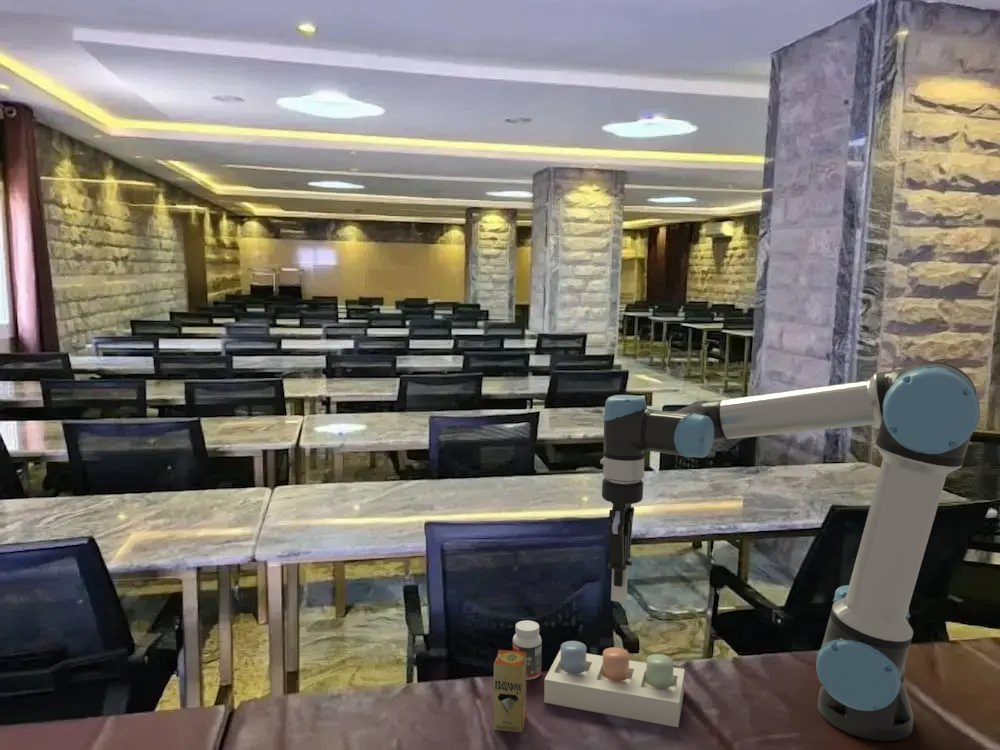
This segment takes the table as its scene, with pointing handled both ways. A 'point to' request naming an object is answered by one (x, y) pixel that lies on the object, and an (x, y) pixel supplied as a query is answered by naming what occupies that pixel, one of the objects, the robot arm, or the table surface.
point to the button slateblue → (573, 657)
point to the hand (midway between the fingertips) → (618, 599)
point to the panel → (615, 692)
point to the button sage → (659, 671)
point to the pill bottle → (529, 646)
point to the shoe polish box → (510, 691)
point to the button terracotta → (615, 664)
